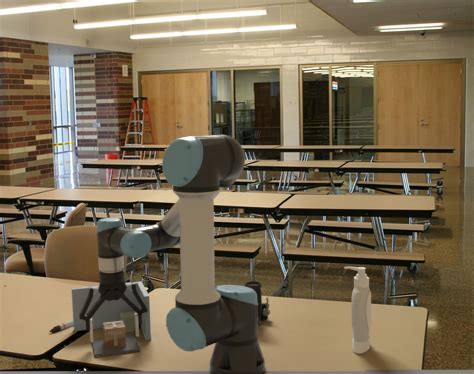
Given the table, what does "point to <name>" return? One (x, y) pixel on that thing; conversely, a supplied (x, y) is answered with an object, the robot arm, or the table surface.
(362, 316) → the soap bottle
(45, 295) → the table surface
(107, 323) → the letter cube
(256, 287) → the scope
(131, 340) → the mat
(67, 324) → the marker
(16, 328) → the table surface
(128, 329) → the plain cube
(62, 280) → the table surface
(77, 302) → the screen
